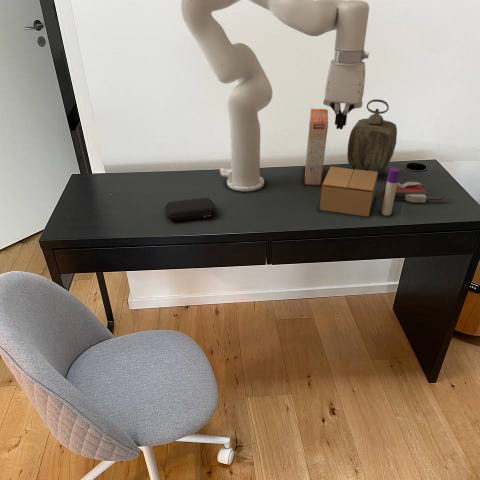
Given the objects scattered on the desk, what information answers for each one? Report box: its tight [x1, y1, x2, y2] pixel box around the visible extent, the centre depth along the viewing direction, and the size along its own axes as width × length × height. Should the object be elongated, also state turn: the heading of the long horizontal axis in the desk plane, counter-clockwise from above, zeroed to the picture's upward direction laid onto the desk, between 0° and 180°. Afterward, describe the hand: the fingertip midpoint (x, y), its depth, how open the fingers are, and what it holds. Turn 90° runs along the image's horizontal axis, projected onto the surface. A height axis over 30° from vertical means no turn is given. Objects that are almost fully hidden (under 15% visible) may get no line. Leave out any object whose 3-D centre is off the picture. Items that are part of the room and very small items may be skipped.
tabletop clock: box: [346, 99, 398, 176], centre depth 164 cm, size 14×9×25 cm, turn 66°
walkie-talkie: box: [394, 181, 452, 204], centre depth 157 cm, size 9×4×20 cm
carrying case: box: [164, 197, 217, 222], centre depth 150 cm, size 11×3×15 cm
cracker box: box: [304, 108, 329, 186], centre depth 165 cm, size 14×6×21 cm, turn 173°
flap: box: [321, 166, 354, 188], centre depth 151 cm, size 7×14×1 cm, turn 162°
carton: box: [319, 168, 379, 217], centre depth 152 cm, size 15×14×9 cm
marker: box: [381, 166, 401, 216], centre depth 146 cm, size 3×3×14 cm
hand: (339, 127), depth 142 cm, fingers closed
